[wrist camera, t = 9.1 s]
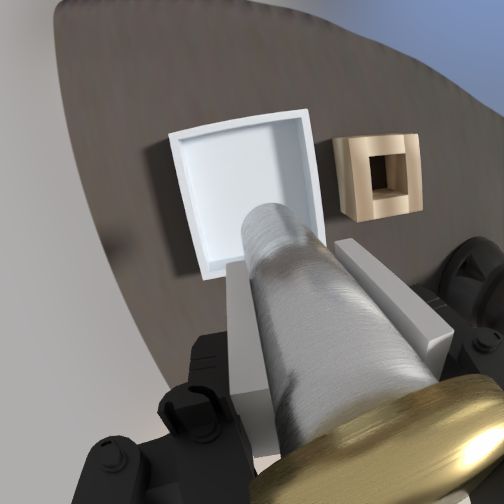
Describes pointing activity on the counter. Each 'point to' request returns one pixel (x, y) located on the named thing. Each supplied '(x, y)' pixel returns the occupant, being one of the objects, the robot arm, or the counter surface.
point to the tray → (244, 180)
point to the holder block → (397, 170)
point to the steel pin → (355, 386)
